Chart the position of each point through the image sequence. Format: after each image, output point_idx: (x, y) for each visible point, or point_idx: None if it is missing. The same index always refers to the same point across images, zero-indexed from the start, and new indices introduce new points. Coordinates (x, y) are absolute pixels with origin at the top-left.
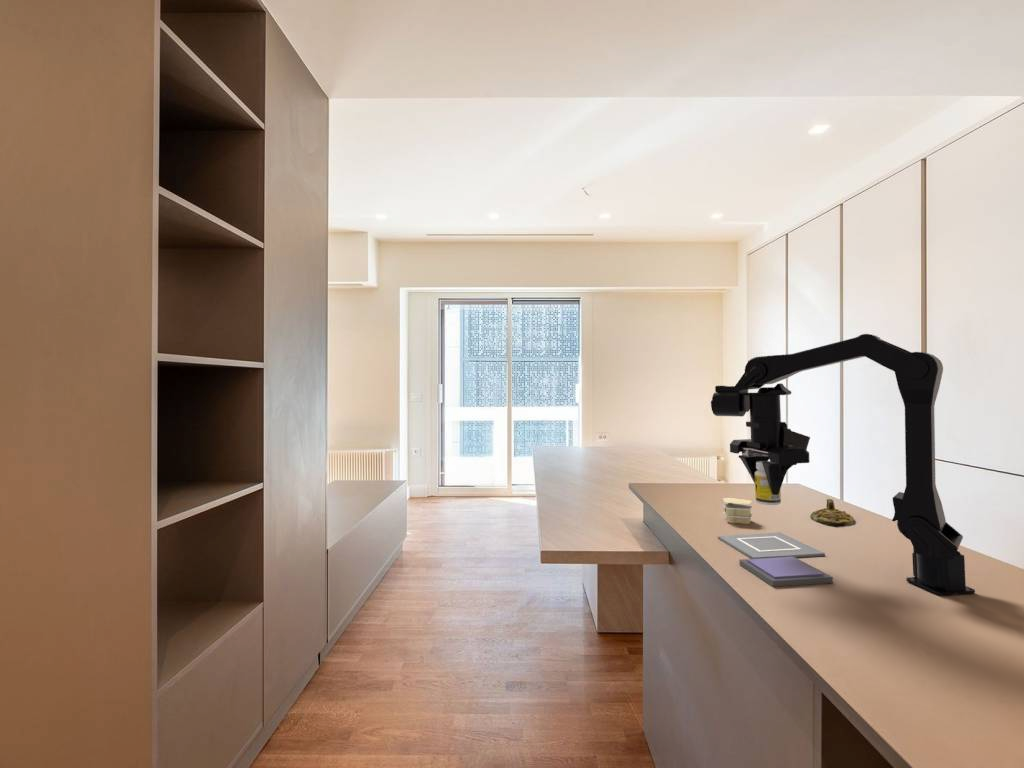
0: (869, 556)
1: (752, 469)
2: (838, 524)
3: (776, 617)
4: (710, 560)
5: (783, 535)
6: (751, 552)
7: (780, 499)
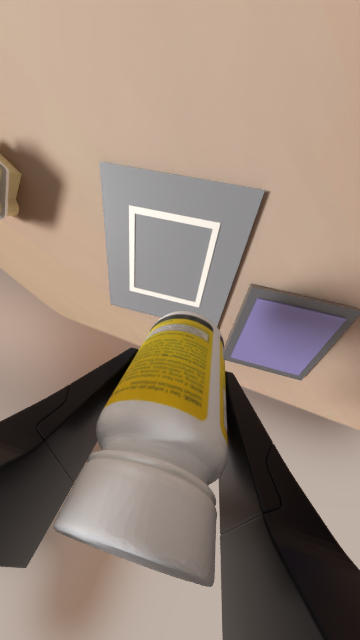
0: (353, 24)
1: (84, 454)
2: None
3: (348, 418)
4: None
5: (124, 175)
6: None
7: (219, 337)
